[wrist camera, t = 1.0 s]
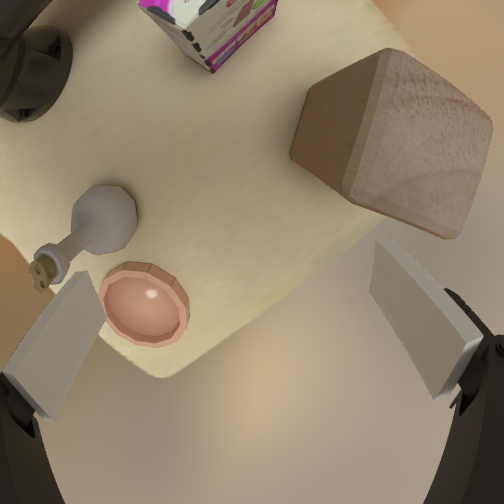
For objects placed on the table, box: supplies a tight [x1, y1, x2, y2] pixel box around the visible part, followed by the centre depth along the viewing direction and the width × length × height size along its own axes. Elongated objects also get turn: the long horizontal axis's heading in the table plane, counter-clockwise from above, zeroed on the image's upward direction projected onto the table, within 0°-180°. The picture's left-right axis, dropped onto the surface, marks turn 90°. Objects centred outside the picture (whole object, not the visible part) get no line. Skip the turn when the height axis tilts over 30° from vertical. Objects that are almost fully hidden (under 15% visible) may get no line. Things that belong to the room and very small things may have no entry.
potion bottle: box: [29, 185, 137, 292], centre depth 26 cm, size 9×9×18 cm
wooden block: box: [290, 48, 493, 239], centre depth 22 cm, size 10×10×20 cm
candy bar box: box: [137, 0, 278, 73], centre depth 17 cm, size 11×5×16 cm, turn 139°
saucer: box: [98, 262, 189, 348], centre depth 39 cm, size 14×14×2 cm
